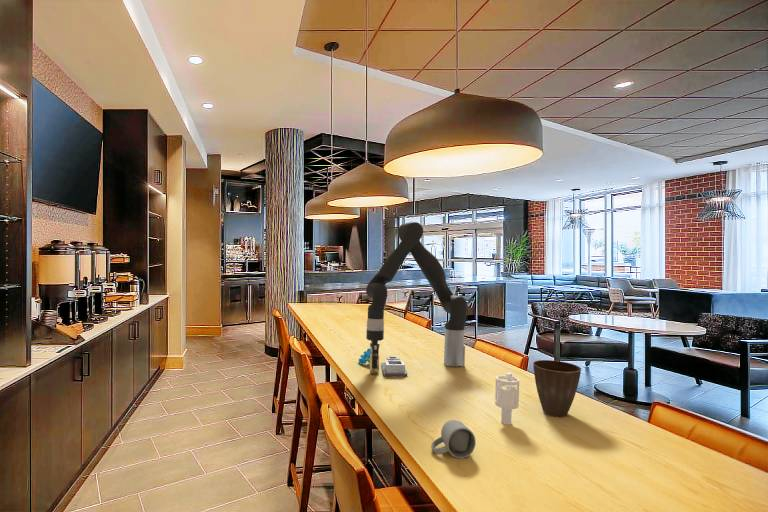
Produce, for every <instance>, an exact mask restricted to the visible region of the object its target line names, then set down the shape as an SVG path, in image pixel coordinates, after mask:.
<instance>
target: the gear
mask: <svg viewBox="0 0 768 512" xmlns="http://www.w3.org/2000/svg"><path fill="white" fill-rule="evenodd" d="M370 355H371V351H370V348H367V350H365V351H363V354H360V357H359V358H358V363H357V364H359V365H361V366H363V364H364V365H365V364H366V363H369V364H370Z"/></svg>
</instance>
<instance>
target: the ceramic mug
mask: <svg viewBox="0 0 768 512" xmlns="http://www.w3.org/2000/svg"><path fill="white" fill-rule="evenodd" d="M440 431H441V432H440V437H438V438H436V439H435V440H433V441H432V442H431V449H432V453H433V454H434V455H441V454H446V453H447V452H448V453H449V454H450V455H451V456H452V457H454V458H457V459H465V458H467V457H469V456H470V455H471V454H472V453H473V452H474V450H475V448H476V437H475V435H474V433H473V431H472V430H471V429H469V428H468V426H466V425H465V424H464V423H463V422H462V421H459V420H457V419H451V420H448V421H447V422H445V423H444V424H443V426H442V427H441V429H440ZM442 443H443V444H444V446H441V447H438V446H439V445H440V444H442ZM436 447H437V448H436Z"/></svg>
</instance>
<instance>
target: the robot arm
mask: <svg viewBox="0 0 768 512" xmlns="http://www.w3.org/2000/svg"><path fill="white" fill-rule="evenodd" d="M397 235H398V238H399V240H400V243H399V244H398V245H397V247H396V248H395V249H394V250H393V251H392V252H391V253H390V255H388V257H387V258H386V259H385V260H384V262H383V263H382V264H381V265H382V266H381V267H380V268H379V270H378V272H377V273H376V274H375V275H374V276H373V278H371V280H370V281H369V282H368V284H367V286H366V289H365V292H366V295H367V297H369V298H370V299H372V302H371V304H370V305H368V307H367V320H366V336H365V337H366V340H367V341H371V342H370V343H369V349H370V351H371V355H372V368H373V369H377V360H378V355H379V356H380V343H379V342H380V341H383V340H384V337H385V336H384V334H385V331H384V330H385V320H384V318H385V317H384V316H385V306H386V303H387V298H388V288H387V286H386V284H387V283H390V282H391V281H392V280H393V279H394V278H395V276H396V274H397V272H398V270H399V269H400V267H401V265H402V264H403V263H404V261H405V259H406V258H407V256H408V255H409V254H411V256H412V257H413V259H414V261H415V263H416V264H417V265H418V268H419V269H420V270H421V272H422V274H423V276H424V277H425V279H426V280H427V282H428V283H429V285H430V287H431V288H432V289H433V291H434V292H435V294H436V296H437V298H438V301H439V302H440V305H441V307H442V309H443V310H444V312H446V313H447V314H449V320H447V321H446V322H445V323H444V344H443V345H444V347H443V348H444V349H443V350H444V353H443V365H444V364H445V365H444V366H446V365H448V366H447V367H450V366H454V367H453V368H458V367H457V366H461V367H465V365H466V364H465V361H466V357H465V356H466V346H465V325H467V317H468V303H467V300H466V299H465V298H464V297H463V296H461V295H455V294H454V293H453V292H452V291H451V289H450V288H449V285H448V283H447V278H446V273H445V270H444V267H443V266H442V264H441V263H440V261H439V260H438V259H437V257H436V256H435V255H434V254H433V253H431V251H429V250H428V249H427V248H426V247H425V246H424V245H423V244H422V241H421V239H422V237H423V235H424V228H423V226H422V224H421V223H419V222H417V221H410V222H405V223H402V224H400V225H399V226H398V229H397ZM374 355H377V356H374ZM455 366H456V367H455Z"/></svg>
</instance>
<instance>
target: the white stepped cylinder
mask: <svg viewBox="0 0 768 512" xmlns="http://www.w3.org/2000/svg"><path fill="white" fill-rule="evenodd" d="M503 387H506V389H505V388H503ZM494 395H495V398H494V402H495V403H494V404H495V406H496V407H498V408H501V413H500V414H501V420H500V421H501V422H500V423H501V424H503V425H506V426H507V425H508V426H509V425H512V413H513V412H512V411H513V410H516V409H518V408H519V404H520V403H519V401H520V399H519V398H520V379H519V378H518V377H516V376H513V373H512V372H509V371H508V372H507V373H506V375H504V374H503V375H497V376H496V377H495V394H494Z"/></svg>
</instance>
